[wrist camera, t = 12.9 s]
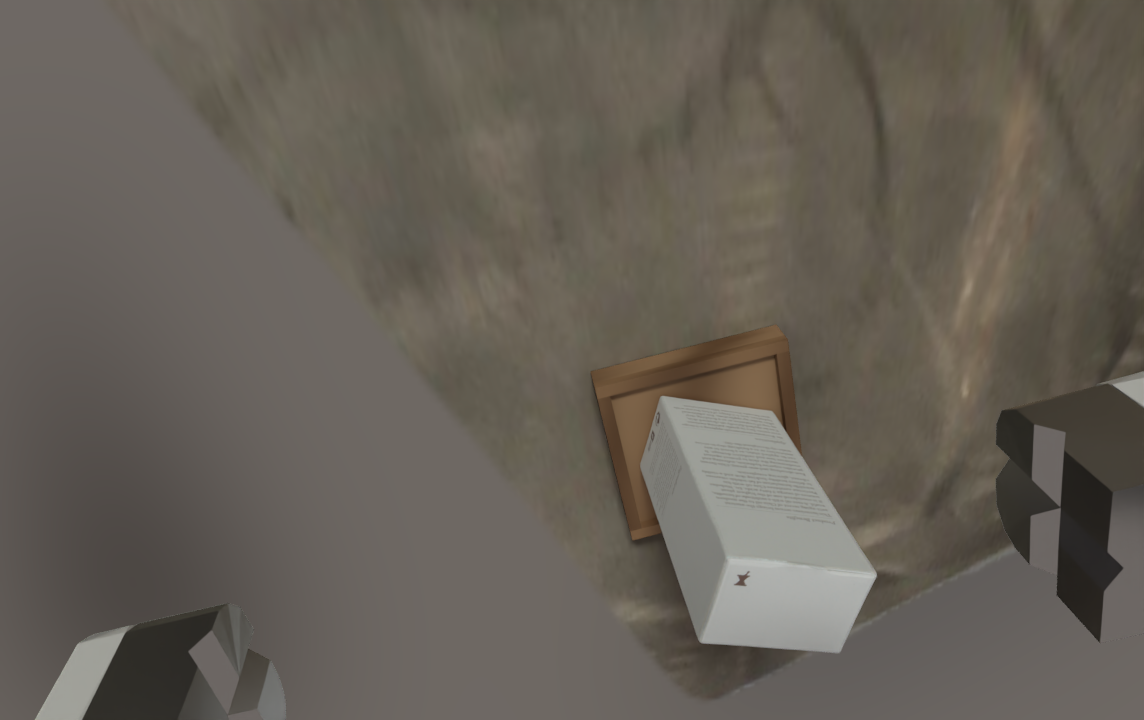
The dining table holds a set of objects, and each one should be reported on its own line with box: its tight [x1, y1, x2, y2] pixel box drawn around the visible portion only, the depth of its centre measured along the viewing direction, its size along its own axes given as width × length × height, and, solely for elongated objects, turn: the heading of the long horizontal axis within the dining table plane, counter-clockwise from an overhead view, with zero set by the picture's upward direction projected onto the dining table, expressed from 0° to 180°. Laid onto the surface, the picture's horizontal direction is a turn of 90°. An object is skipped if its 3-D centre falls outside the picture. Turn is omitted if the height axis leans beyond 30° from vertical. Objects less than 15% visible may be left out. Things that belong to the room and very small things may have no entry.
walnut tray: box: [591, 325, 802, 540], centre depth 42 cm, size 9×9×2 cm
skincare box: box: [640, 396, 877, 653], centre depth 37 cm, size 6×4×12 cm
